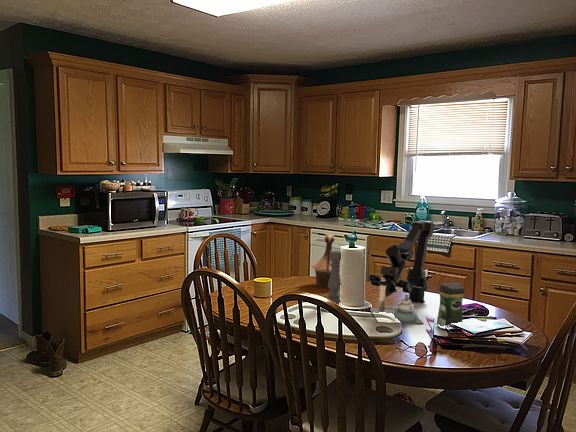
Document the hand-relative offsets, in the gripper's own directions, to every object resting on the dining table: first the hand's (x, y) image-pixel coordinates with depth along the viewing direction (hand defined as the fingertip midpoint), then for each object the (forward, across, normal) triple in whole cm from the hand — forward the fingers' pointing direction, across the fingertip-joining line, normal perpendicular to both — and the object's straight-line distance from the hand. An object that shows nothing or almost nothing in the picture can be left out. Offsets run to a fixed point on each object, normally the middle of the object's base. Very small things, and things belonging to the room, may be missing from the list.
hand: (381, 298), depth 212 cm
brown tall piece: (-13, -47, +24) cm, 55 cm away
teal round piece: (+3, +10, +8) cm, 13 cm away
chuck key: (+2, +6, +4) cm, 8 cm away
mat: (+2, +4, +9) cm, 10 cm away
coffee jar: (0, +27, +11) cm, 29 cm away
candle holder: (+6, -24, +6) cm, 26 cm away
